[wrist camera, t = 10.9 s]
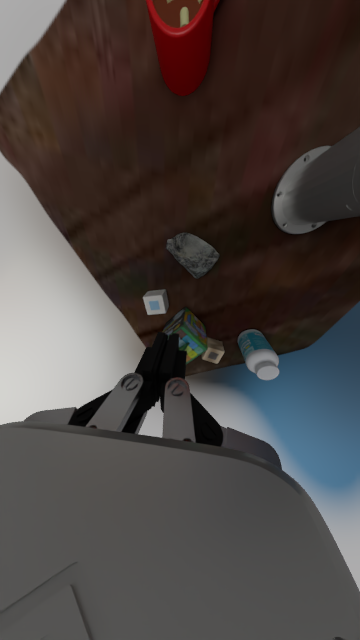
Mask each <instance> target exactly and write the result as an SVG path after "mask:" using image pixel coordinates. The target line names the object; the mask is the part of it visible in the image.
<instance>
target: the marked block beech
mask: <svg viewBox="0 0 360 640" xmlns="http://www.w3.org/2000/svg"><path fill="white" fill-rule="evenodd" d="M207 348H208V349H207V351H205V352H203V353H202V359H204V360H207V361H210V362H213V363H217V364H218V362H219V360H220V359H221V357H222V356H223V354H224V348H223V344H222V342H221V341H218V340H215V339H212V338H208V337H207Z"/></svg>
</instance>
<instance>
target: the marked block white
mask: <svg viewBox="0 0 360 640" xmlns="http://www.w3.org/2000/svg"><path fill="white" fill-rule="evenodd" d="M143 299H144V303H145V307H146V310H147V314H148V315H151V314H163V313H166V312H167V309H168V307H169V304H168V298H167V293H166V289H163V290H154V291H148V292H147V293H146V294H145V295H144V296H143Z"/></svg>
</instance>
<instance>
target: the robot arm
mask: <svg viewBox="0 0 360 640" xmlns="http://www.w3.org/2000/svg"><path fill="white" fill-rule="evenodd" d="M304 160H305V161H304ZM277 194H278V195H279V196H278V197H277ZM272 216H273V220H274V222H275V224H276V225H277V227H278V228H279V229H281V230H282V231H283V232H286V233H289V234H302V233H307V232H310V231H312V230H314V229H316V228H318V227H320V226H321V225H323V224H324V223H325V222H327V221H331V220H338V219H344V218H350V217H357V216H360V127H359V128H357V129H356V130H354V131H353V132H352V133H350V134H349V135H347V136H346V137H345V138H343V139H342V140H340V141H339V142H338V143H336V144H335V145H333V146H322V147H318V148H315V149H313V150H311V151H309V152H307V153H305V154H304V155H302V156H301V157H300V158H298V159H297V160H296V161H295V162H294V163H293V164H292V165H291V166H290V167H289V168H288V169H287V170H286V172H285V173H284V174H283V176H282V177H281V179H280V180H279V182H278V184H277V187H276V189H275V192H274V195H273V199H272ZM283 224H284V226H283ZM311 226H312V227H311ZM186 358H187V351H184V350H179V334H177V333H172V335H169V338H168V334H166V333H165V332H158V334H157V337H156V339H155V341H154V344H153V346H152V347H147V348H146V349H145V352H144V354H143V356H142V358H141V360H140V362H139V364H138V366H137V368H136V370H135V373H129V374H127V375H125V376H124V377H123V378H121V380H120V381H119V382H118V384H117V385H116V386H115V388H114V389H113V390H111V391H109V392H107V393H105V394H104V395H102V396H100V397H98V398H96V399H95V400H93V401H91V402H89V403H87V404H85V405H84V406H82V407H80V408H79V409H77V408H76V407H72V408H64V409H55V410H46V411H40V412H36V413H34V414H32V415H30V416H29V417H28V418H26V419H25V420H24V421H22V422H12V423H7V424H3V425H0V640H360V592H359V589H358V587H357V585H356V583H355V581H354V579H353V577H352V574H351V572H350V570H349V568H348V566H347V564H346V562H345V560H344V558H343V556H342V554H341V552H340V550H339V548H338V546H337V544H336V542H335V540H334V538H333V536H332V534H331V533H330V530H329V528H328V526H327V525H326V523H325V521H324V519H323V517H322V516H321V514H320V512H319V511H318V509H317V507H316V506H315V504H314V502H313V501H312V499H311V498H310V497H309V495H308V494H307V493H306V491H305V490H304V489H303V488H302V487H301V486H300V485H299V484H298V483H297V482H296V481H295V480H294V479H293V478H292V477H290V476H289V475H288V474H286V473H285V472H284V471H283V470H282V467H281V462H280V459H279V457H278V454H277V453H276V451H275V450H274V448H272V446H270V445H269V444H268V443H266V442H264V441H262V440H260V439H257V438H255V437H252V436H249V435H247V434H244V433H242V432H239V431H237V430H234V429H231V428H229V427H227V428H224V427H222V426H220V425H219V424H218V422H217V421H216V420H215V419H214V418H213V417H212V416H211V415H210V414H209V413H208V411H207V410H206V409H205V408H204V407H203V406H202V405H201V404H200V403H199V402H198V401H197V400H196V399H195V398H194V396H193V395H192V394H191V393H190V389H189V385H188V383H187V382H186V381H185V370H186ZM159 398H160V402H161V410H162V412H163V413H164V418H163V419H164V420H163V438H159V437H152V436H145V435H138V433H139V430H140V428H141V426H142V424H143V421H144V419H145V417H146V414H147V410H149V409H151V407H152V406H155V403H156V402H158V401H159Z"/></svg>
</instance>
